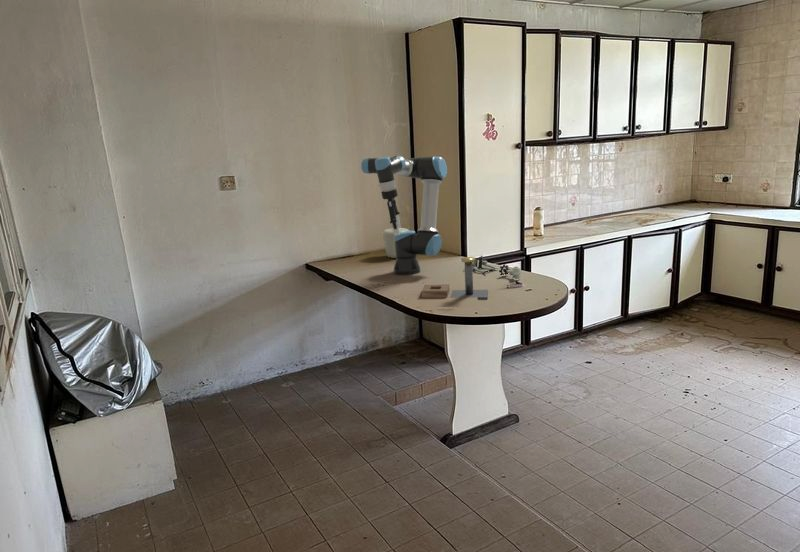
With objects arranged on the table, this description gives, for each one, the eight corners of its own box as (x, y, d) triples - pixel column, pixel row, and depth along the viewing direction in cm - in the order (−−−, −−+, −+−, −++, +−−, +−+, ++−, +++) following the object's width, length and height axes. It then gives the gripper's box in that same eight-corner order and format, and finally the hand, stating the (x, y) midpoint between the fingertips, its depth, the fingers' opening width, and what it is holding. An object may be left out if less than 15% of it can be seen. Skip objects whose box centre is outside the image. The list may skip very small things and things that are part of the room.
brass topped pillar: (462, 292, 268) (461, 257, 264) (476, 292, 267) (475, 256, 263) (462, 296, 262) (460, 260, 258) (475, 295, 261) (474, 259, 257)
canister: (401, 260, 350) (399, 227, 345) (378, 258, 360) (375, 226, 355) (416, 254, 365) (414, 222, 360) (393, 253, 375) (391, 221, 369)
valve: (523, 279, 289) (508, 275, 299) (523, 266, 287) (508, 263, 297) (514, 281, 286) (498, 277, 296) (513, 269, 284) (498, 265, 294)
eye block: (425, 292, 275) (424, 284, 274) (449, 292, 273) (449, 284, 272) (421, 299, 264) (421, 291, 263) (447, 299, 261) (447, 291, 261)
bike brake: (463, 268, 317) (485, 280, 301) (464, 257, 314) (486, 268, 298) (482, 264, 324) (505, 276, 308) (483, 253, 321) (506, 264, 305)
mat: (452, 292, 273) (452, 290, 273) (488, 291, 270) (487, 289, 270) (450, 299, 261) (450, 297, 260) (487, 299, 258) (487, 297, 257)
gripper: (383, 186, 283) (391, 226, 290) (378, 196, 259) (388, 239, 266) (397, 183, 282) (406, 223, 289) (394, 193, 258) (404, 236, 265)
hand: (397, 231), depth 278 cm, fingers open, 13 cm apart
